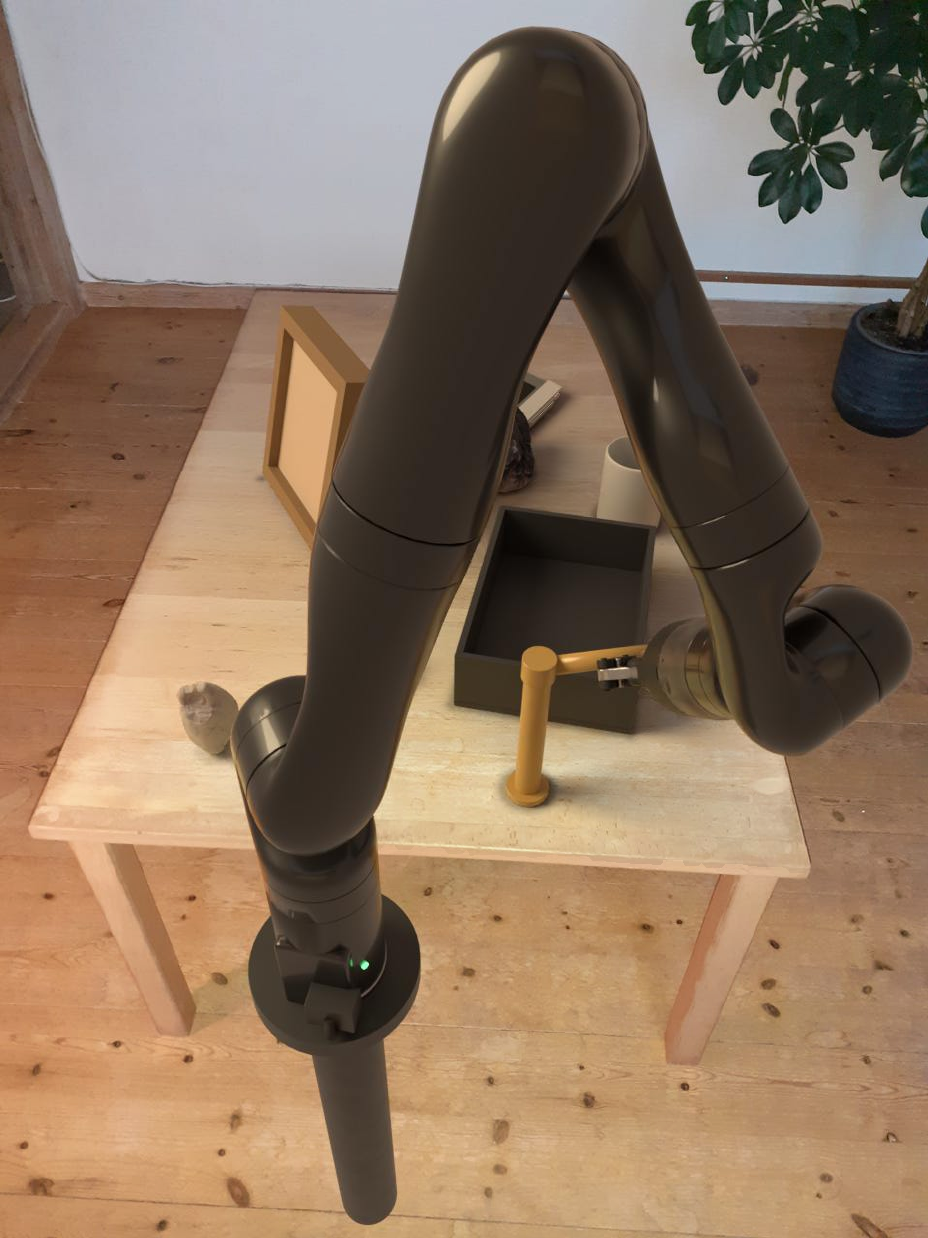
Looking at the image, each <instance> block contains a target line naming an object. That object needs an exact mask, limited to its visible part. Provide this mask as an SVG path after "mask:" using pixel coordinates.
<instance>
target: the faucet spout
mask: <svg viewBox="0 0 928 1238" xmlns="http://www.w3.org/2000/svg"><path fill="white" fill-rule="evenodd" d="M648 644H649V643H644V644H643V645H635V646H627V647H619V648H611V649H603V650H595V651H587V652H579V653H571V654H563V655H556V654H555V653H554V651H552V650H551V649H549V648H547V647H543V646H534V647H531V648H528V649H527V650H526V651H525V652H524V653H523V655H522V663H521V679H522V681H523V683H524V684H525V685H527V686H529V687H531V688H534V689H545V688H548V687H550V686H551V685H552V684H553V683H554V681H555V679H556V675H563V674H571V673H579V672H587V671H594V670H598V669H597V660H601V658H607V659H609V658H616V657H623V655H627V654H628V656H634V655H641V654H640V653H641V649H646V648H647V646H648Z"/></svg>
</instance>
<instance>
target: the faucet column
mask: <svg viewBox="0 0 928 1238" xmlns="http://www.w3.org/2000/svg"><path fill="white" fill-rule="evenodd" d="M550 694H551V686H550V687H548V688H545V689H534V688H531V687H529V686H527V685H525V684H524V683H523V691H522V703H521V715H520V716H519V717H520V718H519V727H518V728H519V729H518V738H517V750H516V751H517V753H516V761H515V762H516V764H515V770H514V771H512V772H511V773H510V774H509V775H508V777H507V778H506V781H505V793H506V796H507V797H508V799H509V800H510V801H511V802H512V803H514V804H515V805H517V806H519V807H526V808H531V807H537V806H539V805H540V804H542V803H543V802H544V801H545V800H547V797H548V795H549V790H550V784H549V781H548V779H547V777H546V776H545V775H544V774H543V763H544V756H545V746H546V737H547V730H548V729H547V727H548V721H547V720H548V711H549V702H550Z"/></svg>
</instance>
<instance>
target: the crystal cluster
mask: <svg viewBox="0 0 928 1238" xmlns="http://www.w3.org/2000/svg"><path fill="white" fill-rule="evenodd" d="M531 443H532V436H531V434H530V429H529V423H528V421H527V418H526V416H525V415H524V413H523V412H522V411H521V410H520V409H519V407H518V406H517V409H516V414H515V419H514V424H513V429H512V435H511V441H510V446H509V451H508V455H507V459H506V464H505V468H504V472H503V476H502V480H501V483H500V487H499V490H498V493H508V492H512V491H517V490H521V489H523V488H524V487H525V486H527V485H528V483H529V482H530V481H531V480H532V479H533V478H534V474H535V466H536V465H535V464H536V463H535V457H534V453H533V448H532V444H531Z"/></svg>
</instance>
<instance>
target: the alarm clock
mask: <svg viewBox="0 0 928 1238" xmlns="http://www.w3.org/2000/svg"><path fill="white" fill-rule="evenodd" d="M560 390H561V392H560V393H559V394H558V395H557V396H556V397H554V396H555V395H556V394H557V393H558V392H559V391H560ZM562 390H563V386H562V385H560V384H558V383H555V382H554V381H552V380H550V379H547V380H546V381H545V380H544V379H542V378H540V377H538V376H536V375H535V374H533V373H530V372H528V371H527V374H526V376H525V379H524V382H523V385H522V389H521V392H520V396H519V400H518V404H517V406H518V407H519V409H520V410H521V411H522V412H523V413H524V415H525V416H526V418H527V421H528V423H529V430H530V429H531V428H532V427H533V426H534V425H535V424H536V423H537V422H538V421H539V420H540V419H542V417H543V416H544V415H546V413H548V412H549V410H551V408H553V406H554V405H555V402H556V401H557V400H558V399H559V398H560V396H561V393H562ZM554 400H555V401H554ZM553 401H554V402H553ZM552 402H553V403H552ZM551 403H552V404H551ZM550 404H551V405H550ZM549 405H550V406H549ZM548 406H549V407H548ZM547 407H548V408H547ZM546 408H547V409H546ZM545 409H546V410H545ZM544 410H545V411H544ZM543 411H544V412H543ZM542 412H543V413H542ZM541 413H542V414H541ZM540 414H541V415H540ZM539 415H540V416H539ZM538 416H539V417H538ZM537 417H538V418H537ZM536 418H537V419H536ZM535 419H536V420H535ZM534 420H535V421H534ZM533 421H534V422H533ZM532 422H533V423H532Z"/></svg>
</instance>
